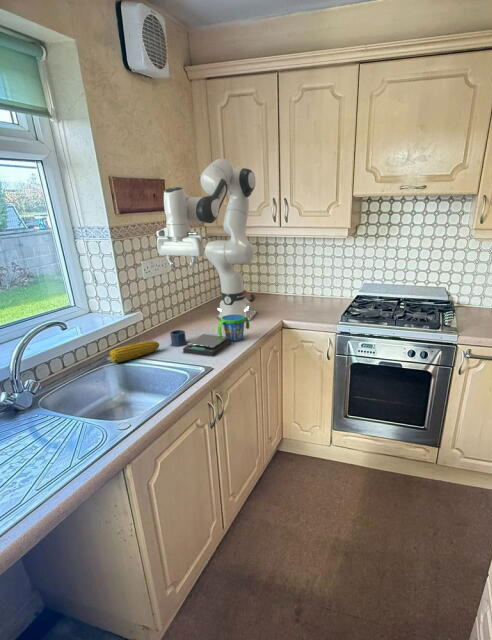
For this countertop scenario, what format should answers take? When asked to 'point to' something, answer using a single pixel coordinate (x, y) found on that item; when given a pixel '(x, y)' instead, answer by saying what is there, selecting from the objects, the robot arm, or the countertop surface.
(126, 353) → the food
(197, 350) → the scale
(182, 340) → the dark blue faceted pot
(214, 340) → the scale pan
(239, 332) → the snack cup
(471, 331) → the countertop surface
